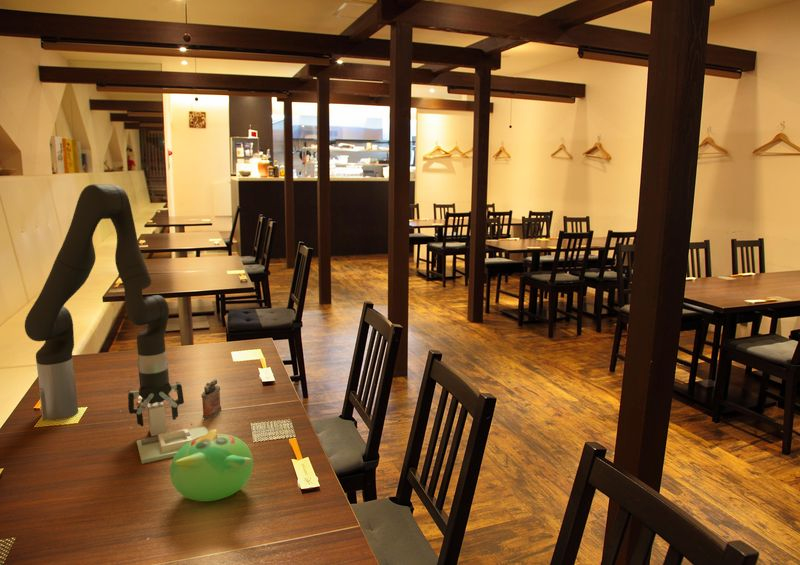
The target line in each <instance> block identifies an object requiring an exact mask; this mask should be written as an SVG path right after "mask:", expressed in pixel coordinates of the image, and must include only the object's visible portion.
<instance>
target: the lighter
mask: <svg viewBox="0 0 800 565" xmlns="http://www.w3.org/2000/svg"><path fill="white" fill-rule="evenodd" d="M217 384H218V380H217V379H213V380H211V381H210V382H206V384H205V386H204V391H203V392H202V393H201V395H200V396H201V399H202V419H203V418H204V420H210V418H211V419H212V417H213V418H214V417H216V416H217V415H219V413H220V412H221V411H222V405H221V393H220V391H221V386H220V385H217ZM220 410H221V411H220ZM215 415H216V416H215Z"/></svg>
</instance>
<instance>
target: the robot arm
mask: <svg viewBox="0 0 800 565" xmlns="http://www.w3.org/2000/svg"><path fill="white" fill-rule="evenodd" d="M130 202H131V201H130V199H129V196H128V194H127V192H126V191H125V190H124V188H122V187H121V186H119V185H117V184H116V185H115V184H99V183H94V184H93V183H92V184H89V185H87V186H85V187H84V188H83V189H82V190H81V192H80V194H79V197H78V200H77V202H76V206H75V208H74V212H73V216H72V220H71V222H70V224H69V225H70V226H69V227H68V230H67V231H66V232H67V233H66V235H65V238H64V240H63V243H62V246H61V247H60V249H59V251H58V253H57V255H56V258H55V260H54V262H53V264H52V267H51V270H50V272H49V274H48V276H47V279H46V281H45V283H44V284H43V287H42V289H41V291H40V293H39V295H38V296H37V298H36V300H35V302H34V303H33V304H32V307H31V308H30V310H29V311H28V313H27V315H26V317H25V320H24V332H25V334H26V335H27V336H28V338H29V339H30V340H32V341H35V342H44V343H43V344H42V346H40V348H39V349H38V350H37V351H36V353H35V362H36V370H37V377H38V378H37V379H38V385H39V390H38V392H39V400H40V407H41V416H42V421H57V420H56V419H60V420H64V418H65V419H67V417H68V418H71V417H73V416H74V415H76V414H78V412H79V403H78V396H77V394H78V393H77V386H76V377H75V376H76V375H75V370H74V360H73V351H74V348H75V336H74V322H73V317H72V313H71V312H70V311H69V309H68V308H67V307H66V306H64V305H65V304H66V303H67V302H68V301H69V300H70V298H72V297H73V296H74V295H75V294H76V293H77V292H78V291H79V290H80V289H82V287H83V285H84V284H85V283H86V281H87V280H88V278H89V276H90V274H91V272H92V270H93V269H94V266H95V262H96V250H95V246H94V241H93V238H94V237H93V236H94V234H95V232H96V230H97V227H98V225H99V224H100V222H101V221H102V220H109V219H110V221H111V223H112V224H113V227H114V230H115V232H116V247H115V256H114V259H115V265H116V266H115V267H116V270H117V272H118V275H119V277H120V280H121V283H122V284H123V289H124V291H123V292H124V300H125V311H126V315H127V318H128V319H129V321H130V322H131V323H132V324H133V325H136V326H139V327H140V326H145V325H147V326H146V328H144V329H143V330H142V331H140V332H139V333H138V334H137V335H136V346H137V368H138V378H139V379H138V380H139V390H132V389H130V390H128V391H127V401H128V402H127V405H128V407H127V408H128V413H129V414H131V415H133V414H136V422H137V425H140V427H144V418H143V416H144V415H143V411H144V410H145V408H146V407H148V404H154V403H157V402H163V403H164V401H165V402H167V403H168V404H169V405H170V407H171V418H172V421H174V420H176V419H177V418H178V416H179V411H178V410H179V409H178V408H179V406H180V405H183V404H184V403H185V400H184V392H183V387H182V384H181V382H180V381H177V382H176V383H173V384H170V377H169V362H168V356H167V350H166V342H165V337H166V336H165V335H166V331H167V326H168V321H169V314H170V307H169V305H168V302H167V300H166V298H165V297H163V296H162V295H159V294H154V295H151V296H150V295H149V296H145V297H143V290H145V289H147V288H149V287H150V286H151V285H152V278H151V276H150V273H149V270H148V268H147V266H146V263H145V259H144V257H143V255H142V251H141V247H140V245H139V244H140V243H139V240H138V235H137V230H136V224H135V220H134V215H133V211H132V206H131V203H130ZM172 390H174V392H176V393H177V394H176V395H177V399H174V398H173V397H172V396H171V395H170V393H171V391H172ZM139 395H140V396H141V397H142V399H141V401H140V403H138V404H137V406H136V407H135V399H138V396H139ZM70 416H71V417H70Z"/></svg>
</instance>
